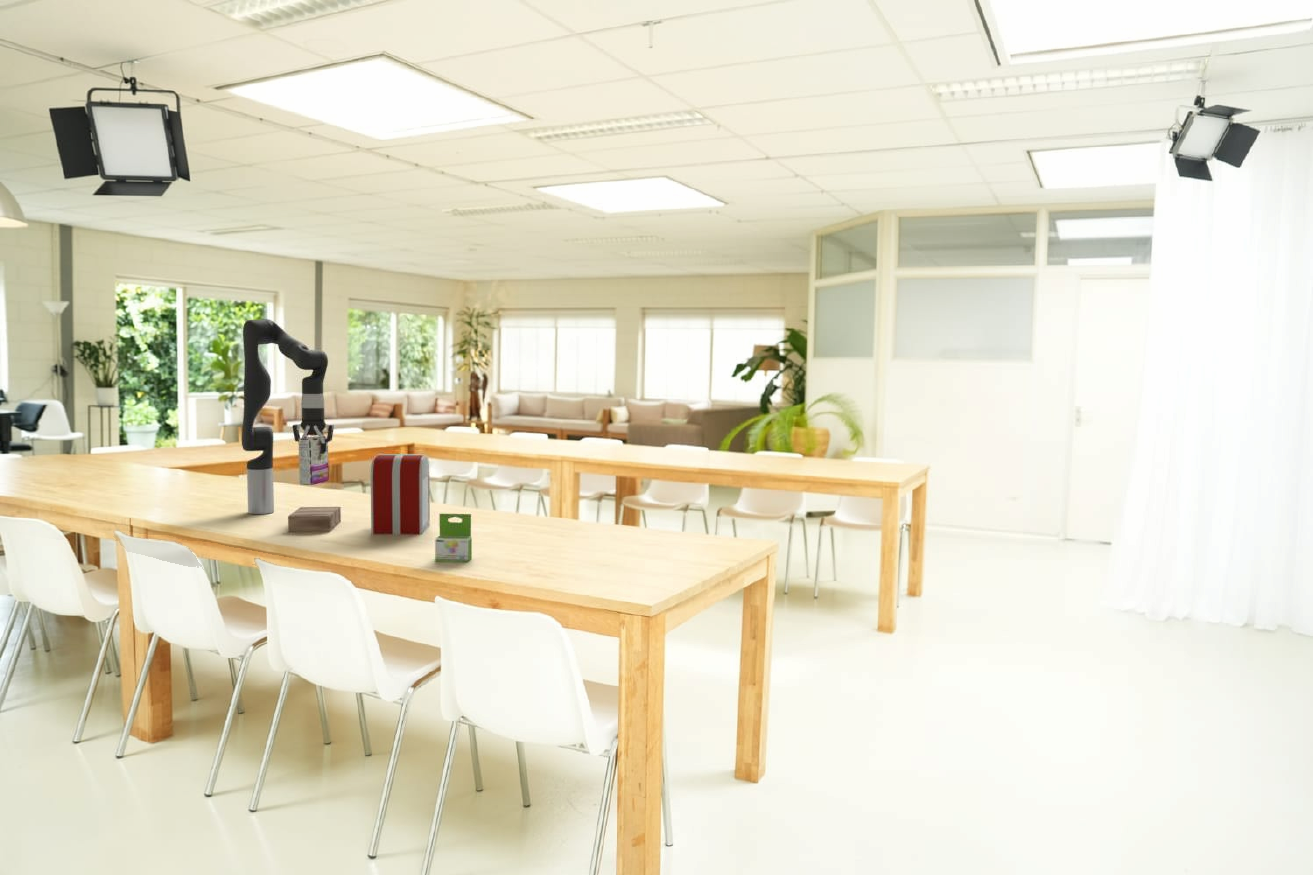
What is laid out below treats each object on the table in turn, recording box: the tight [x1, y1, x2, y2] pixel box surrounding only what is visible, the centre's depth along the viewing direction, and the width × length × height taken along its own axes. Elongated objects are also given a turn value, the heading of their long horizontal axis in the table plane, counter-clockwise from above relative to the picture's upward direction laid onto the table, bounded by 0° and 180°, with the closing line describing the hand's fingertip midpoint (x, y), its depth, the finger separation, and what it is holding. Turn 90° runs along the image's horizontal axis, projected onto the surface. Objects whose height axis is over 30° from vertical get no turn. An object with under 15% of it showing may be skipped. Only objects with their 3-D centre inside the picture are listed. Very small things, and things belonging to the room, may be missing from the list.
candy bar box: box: [297, 435, 330, 486], centre depth 309 cm, size 11×5×16 cm, turn 169°
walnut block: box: [287, 506, 342, 533], centre depth 312 cm, size 18×14×6 cm
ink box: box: [434, 513, 473, 563], centre depth 267 cm, size 10×5×14 cm, turn 90°
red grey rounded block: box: [370, 453, 431, 535], centre depth 309 cm, size 16×18×27 cm
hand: (313, 453), depth 309 cm, fingers closed on candy bar box, 6 cm apart
